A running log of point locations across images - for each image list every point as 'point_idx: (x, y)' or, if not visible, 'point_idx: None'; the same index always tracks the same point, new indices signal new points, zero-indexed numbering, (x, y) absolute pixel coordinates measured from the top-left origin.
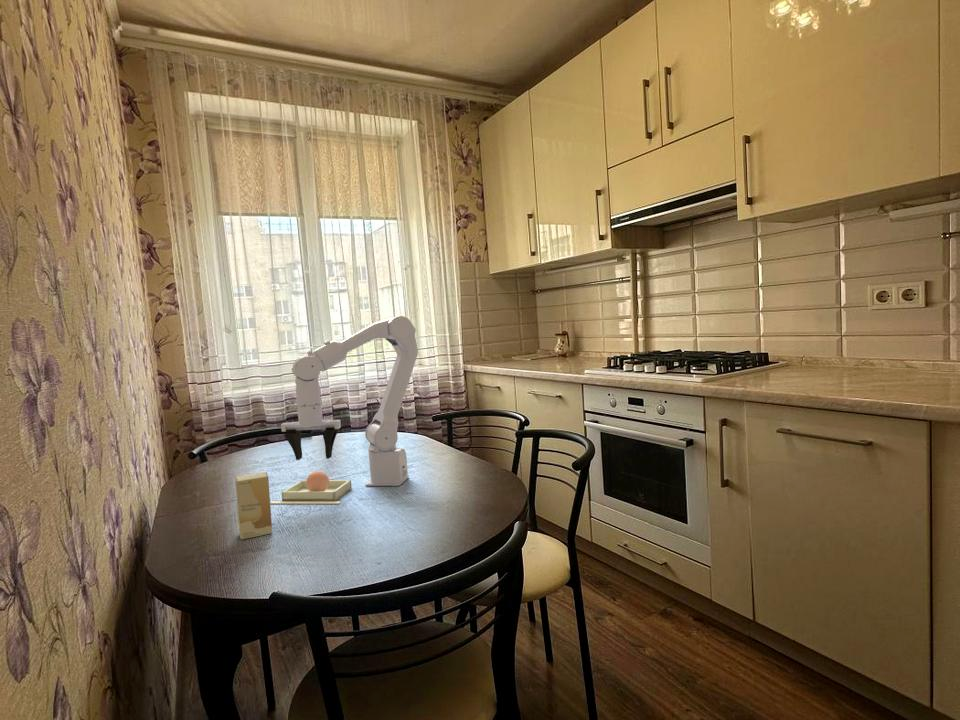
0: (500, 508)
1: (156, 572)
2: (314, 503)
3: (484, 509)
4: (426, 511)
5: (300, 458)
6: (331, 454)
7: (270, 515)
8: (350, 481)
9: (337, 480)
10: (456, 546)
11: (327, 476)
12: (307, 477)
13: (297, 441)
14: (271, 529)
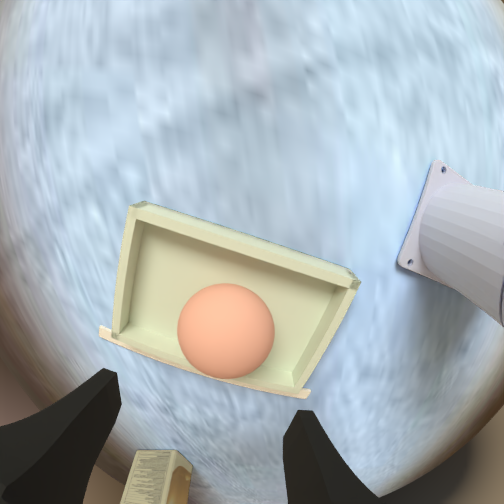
0: (492, 410)
1: (111, 476)
2: (235, 383)
3: (482, 414)
4: (436, 427)
5: (118, 389)
6: (316, 422)
7: (188, 488)
8: (357, 284)
9: (305, 266)
10: (407, 480)
11: (271, 340)
12: (180, 346)
13: (73, 475)
14: (191, 470)
